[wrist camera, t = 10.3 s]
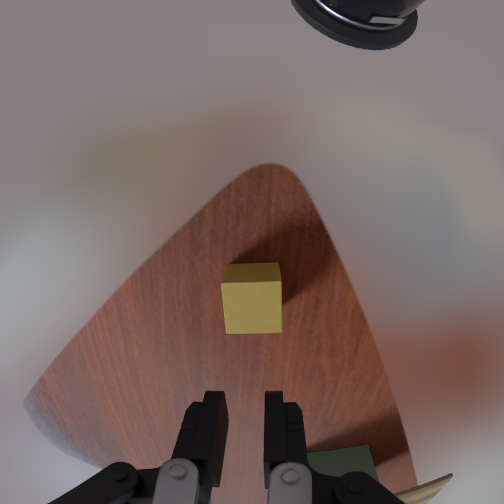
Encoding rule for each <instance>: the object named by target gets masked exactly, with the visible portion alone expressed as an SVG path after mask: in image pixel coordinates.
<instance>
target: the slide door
mask: <svg viewBox="0 0 504 504" xmlns="http://www.w3.org/2000/svg"><path fill="white" fill-rule="evenodd" d="M452 476H453V475H452V473H450V474H448V475H446V476H443V477H441V478H438V479H436V480H433V481H431V482H428V483H425V484H422V485H420V486H417V487H414V488H411V489H408V490H404V491H401V492H398V493H394V495H395V496H396V497H398V498H399V499H400V500H402V501H403V502H404V503H406V504H427V503H428V502H429V501H430V500H431V499H432V498H433V497H434V496H435V495H436V494H437V493H438V491H440V489H441V488H442V487H443V486H444V485H445V484H446V483H447V482H448V481H449V480H450V479H451V478H452Z"/></svg>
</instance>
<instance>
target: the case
mask: <svg viewBox="0 0 504 504" xmlns="http://www.w3.org/2000/svg"><path fill="white" fill-rule="evenodd" d="M307 459H308V463H309V465H310V466H311V467H312V468H313V469H314V470H315V471H317V472H318V473H321V474H324V475H331V476H338V477H341V476H342V475H344V474H346V473H348V472H352V471H361V472H365V473H367V474H369V475H370V476H372V477H373V478H374V479H375V480H376V481H378V482H379V480H378V477H377V473H376V470H375V466H374V463H373V459H372V456H371V453H370V449H369V446H368V444H366V445H361V446H355V447H349V448H342V449H335V450H328V451H319V452H309V453H307Z"/></svg>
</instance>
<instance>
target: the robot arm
mask: <svg viewBox="0 0 504 504" xmlns="http://www.w3.org/2000/svg"><path fill="white" fill-rule="evenodd" d="M311 1H312V2H313V3H314V5H315V6H316V7H317V8H318V9H320V10H321V11H322V12H323V13H324V14H326V15H327V16H329V17H330V18H332V19H333V20H335V21H337V22H339V23H341V24H343V25H345V26H348V27H350V28H353V29H356V30H360V31H365V32H371V33H384V32H389V31H392V30H395V29H397V28H398V27H399V26H400V25H401V24H402V23H403V22H404V21H405V20H406V19H407V18H408V16H409V15H410V14H411V13H412V12H413V11H414V10H415V9H416V8H417V7H419V6H420V5H421V4H422V3H423V2H424V1H425V0H311ZM228 423H229V418H228V410H227V404H226V398H225V393H224V391H206V392H205V395H204V399H203V402H193V403H192V404H191V405H190V406H189V407H188V408H187V409H186V412H185V415H184V419H183V422H182V425H181V429H180V432H179V435H178V438H177V441H176V445H175V448H174V451H173V455H172V457H171V459H170V460H168V461H166V462H165V463H163V465H162V466H161V467H158V468H154V469H140V470H136V469H135V468H134V467H133V466H132V465H131V464H129V463H126V462H115V463H112V464H110V465H109V466H107V467H106V468H104V469H103V470H101V471H100V472H99V473H97V474H96V475H94V476H92V477H91V478H89V479H88V480H86V481H85V482H83V483H82V484H80V485H78V486H77V487H75V488H74V489H72V490H71V491H69V492H67V493H65V494H64V495H62V496H60V497H59V498H57V499H55V500H53V501H52V502H50V503H48V504H211V498H210V496H211V490H212V487H219V486H220V480H221V473H222V466H223V459H224V452H225V446H226V439H227V432H228ZM264 478H265V489H268V496H267V504H406V503H404V502H403V501H402V500H400V499H399V498H398V497H396V496H395V495H394V494H393V493H391V492H390V491H389V490H388V489H386V488H385V487H384V486H383V485H381V484H380V483H379V482H378V481H376V480H375V479H374V478H373V477H372V476H370V475H369V474H367V473H365V472H361V471H352V472H348V473H346V474H344V475H342V476H341V477H338V476H331V475H324V474H321V473H318V472H317V471H315V470H314V469H313V468H312V467H311V466H310V465H309V463H308V459H307V450H306V441H305V432H304V423H303V415H302V410H301V409H300V407H299V406H298V404H297V403H296V402H287V403H283V391H265V417H264Z"/></svg>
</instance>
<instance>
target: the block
mask: <svg viewBox="0 0 504 504" xmlns="http://www.w3.org/2000/svg"><path fill="white" fill-rule="evenodd" d="M221 287H222V297H223V307H224V316H225V325H226V333H227V334H249V333H281V332H282V280H281V273H280V266H279V262H273V263H246V264H228V267H227V269H226V272H225V274H224V277H223V280H222V282H221Z"/></svg>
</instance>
